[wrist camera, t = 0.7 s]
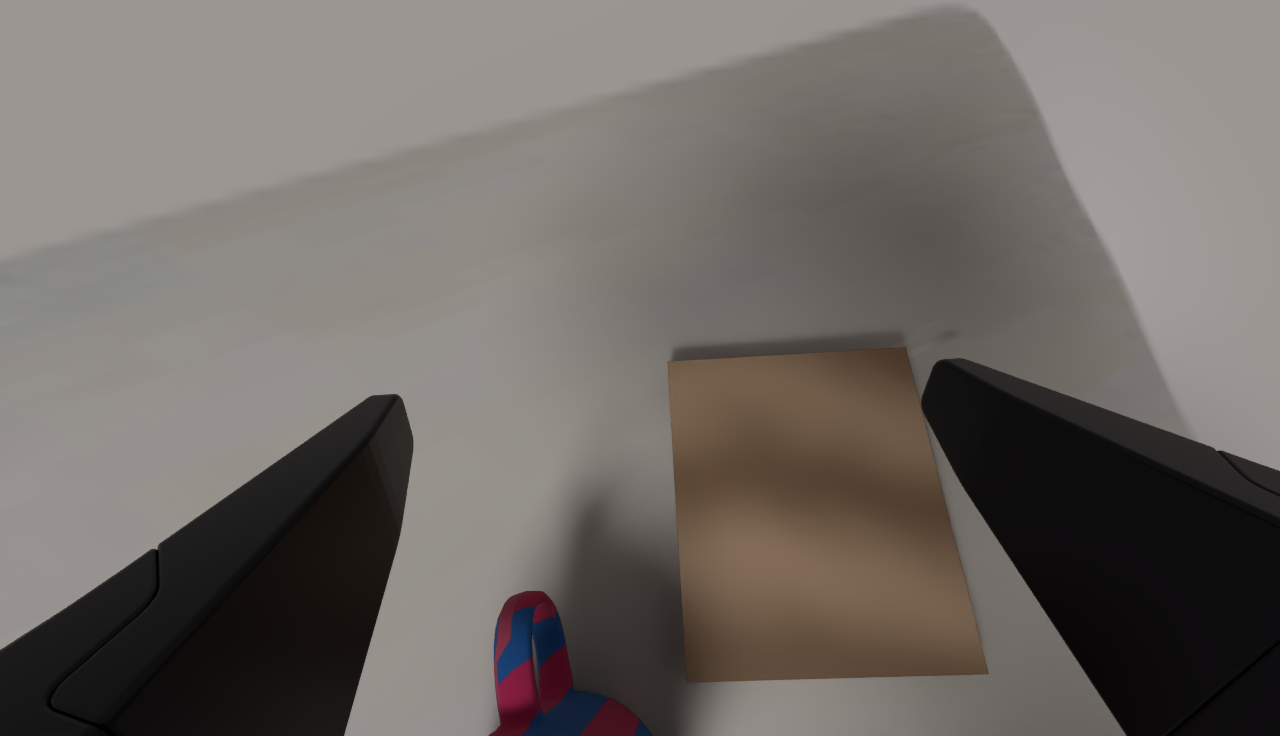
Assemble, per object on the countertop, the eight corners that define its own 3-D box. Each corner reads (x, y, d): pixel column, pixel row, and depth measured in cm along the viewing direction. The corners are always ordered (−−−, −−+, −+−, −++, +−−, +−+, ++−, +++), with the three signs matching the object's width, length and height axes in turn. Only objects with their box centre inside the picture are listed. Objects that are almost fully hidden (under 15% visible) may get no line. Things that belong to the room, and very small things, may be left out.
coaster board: (973, 670, 19) (988, 674, 18) (686, 678, 19) (686, 682, 18) (896, 357, 23) (905, 347, 23) (668, 370, 24) (667, 361, 23)
